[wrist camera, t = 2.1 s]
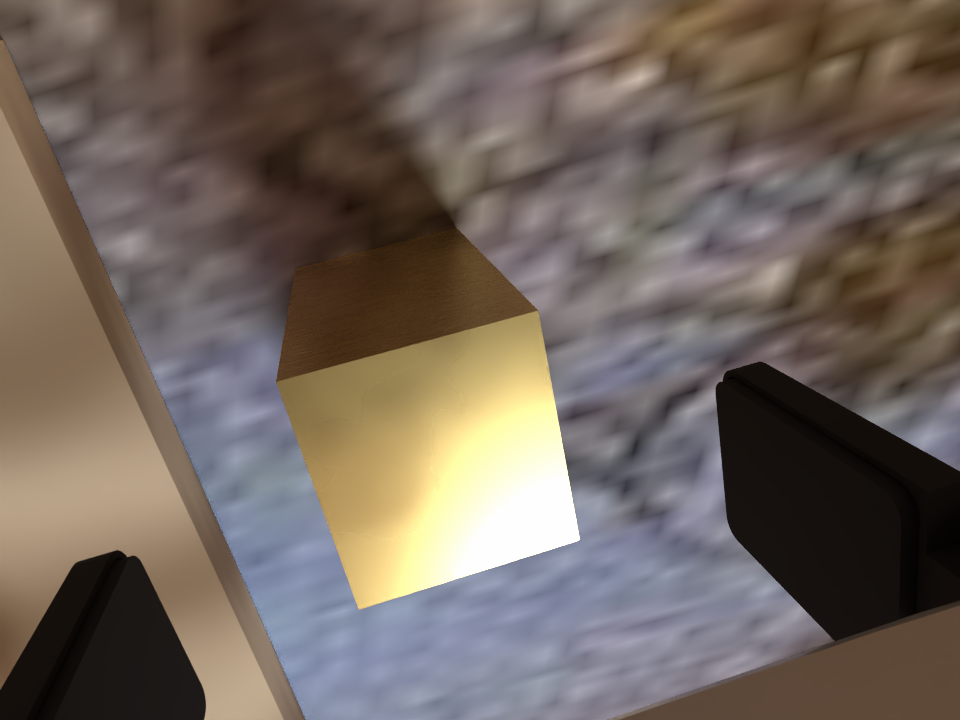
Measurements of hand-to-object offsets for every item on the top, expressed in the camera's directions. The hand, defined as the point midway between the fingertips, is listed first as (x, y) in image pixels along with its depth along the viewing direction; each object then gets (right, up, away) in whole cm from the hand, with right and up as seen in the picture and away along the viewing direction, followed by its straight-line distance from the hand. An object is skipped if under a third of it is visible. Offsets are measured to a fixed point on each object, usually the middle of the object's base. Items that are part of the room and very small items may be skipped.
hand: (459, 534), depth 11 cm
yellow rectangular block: (-2, +3, +7) cm, 8 cm away
